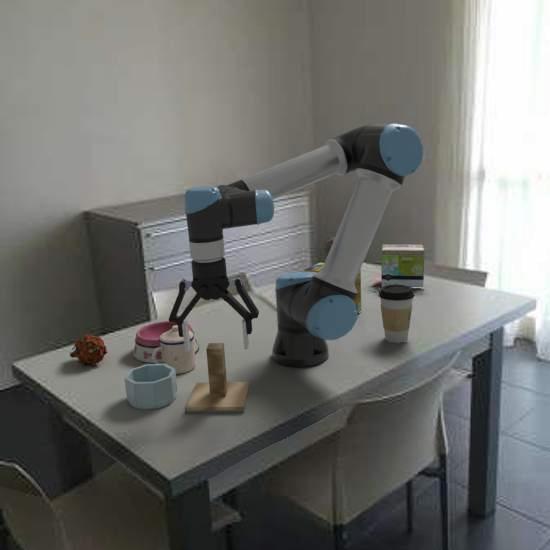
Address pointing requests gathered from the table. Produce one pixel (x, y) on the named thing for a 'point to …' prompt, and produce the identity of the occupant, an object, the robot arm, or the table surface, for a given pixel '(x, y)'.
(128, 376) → the ceramic bowl
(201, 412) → the slate mat
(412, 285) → the tea box
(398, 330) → the coffee cup
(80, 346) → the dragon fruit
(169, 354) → the teacup with lid
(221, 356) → the oak lid
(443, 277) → the table surface
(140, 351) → the dog bowl
